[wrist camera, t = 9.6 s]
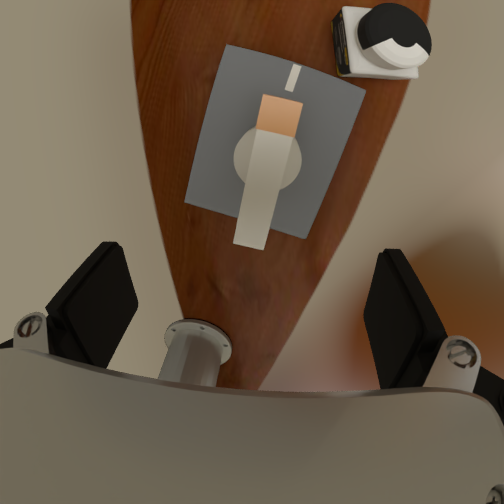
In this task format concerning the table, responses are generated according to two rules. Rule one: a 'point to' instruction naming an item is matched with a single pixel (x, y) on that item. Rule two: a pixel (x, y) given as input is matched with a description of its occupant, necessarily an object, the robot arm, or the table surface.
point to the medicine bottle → (380, 42)
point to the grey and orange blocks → (266, 166)
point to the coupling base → (245, 117)
